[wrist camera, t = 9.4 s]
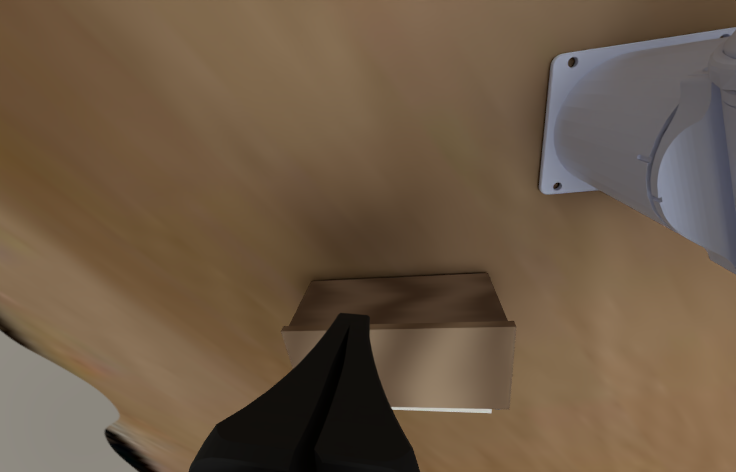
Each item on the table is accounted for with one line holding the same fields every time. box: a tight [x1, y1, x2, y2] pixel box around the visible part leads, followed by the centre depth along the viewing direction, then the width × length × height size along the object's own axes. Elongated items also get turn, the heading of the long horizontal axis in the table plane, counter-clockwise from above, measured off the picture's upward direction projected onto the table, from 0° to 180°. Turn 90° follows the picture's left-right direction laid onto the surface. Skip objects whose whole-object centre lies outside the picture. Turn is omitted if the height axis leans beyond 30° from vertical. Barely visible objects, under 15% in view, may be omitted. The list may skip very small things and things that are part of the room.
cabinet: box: [281, 273, 516, 409], centre depth 24 cm, size 15×7×6 cm, turn 98°
